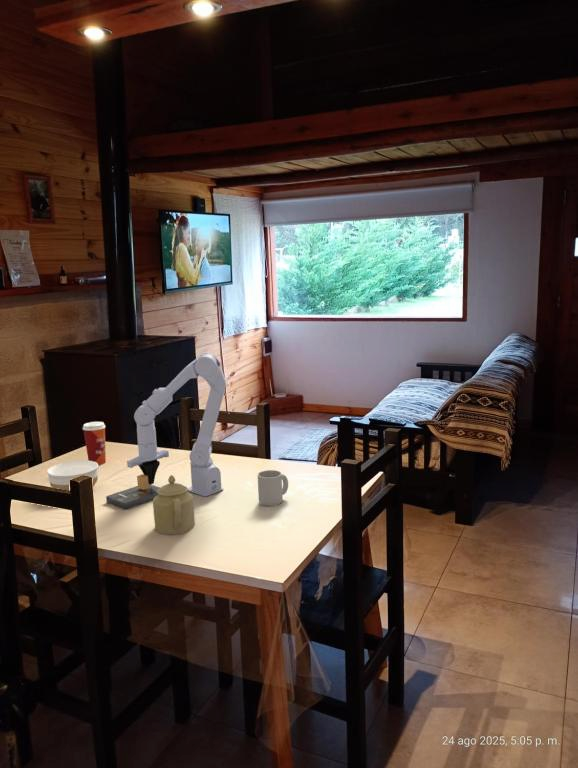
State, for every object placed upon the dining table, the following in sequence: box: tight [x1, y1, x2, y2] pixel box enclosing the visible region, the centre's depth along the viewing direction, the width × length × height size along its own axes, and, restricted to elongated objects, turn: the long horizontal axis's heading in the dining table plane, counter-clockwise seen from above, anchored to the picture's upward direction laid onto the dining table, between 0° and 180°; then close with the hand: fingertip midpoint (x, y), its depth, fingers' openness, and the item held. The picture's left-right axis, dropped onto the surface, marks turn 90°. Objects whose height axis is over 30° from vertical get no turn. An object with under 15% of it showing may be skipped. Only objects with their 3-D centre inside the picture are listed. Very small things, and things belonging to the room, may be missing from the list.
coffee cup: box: [81, 421, 107, 466], centre depth 237 cm, size 8×8×15 cm
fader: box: [136, 473, 149, 490], centre depth 202 cm, size 3×2×4 cm, turn 48°
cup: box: [257, 469, 289, 507], centre depth 193 cm, size 7×10×9 cm
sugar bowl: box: [152, 474, 196, 535], centre depth 175 cm, size 15×11×15 cm
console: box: [105, 484, 161, 511], centre depth 199 cm, size 10×15×2 cm, turn 138°
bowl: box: [46, 459, 99, 491], centre depth 208 cm, size 16×16×8 cm
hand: (150, 483), depth 204 cm, fingers closed
